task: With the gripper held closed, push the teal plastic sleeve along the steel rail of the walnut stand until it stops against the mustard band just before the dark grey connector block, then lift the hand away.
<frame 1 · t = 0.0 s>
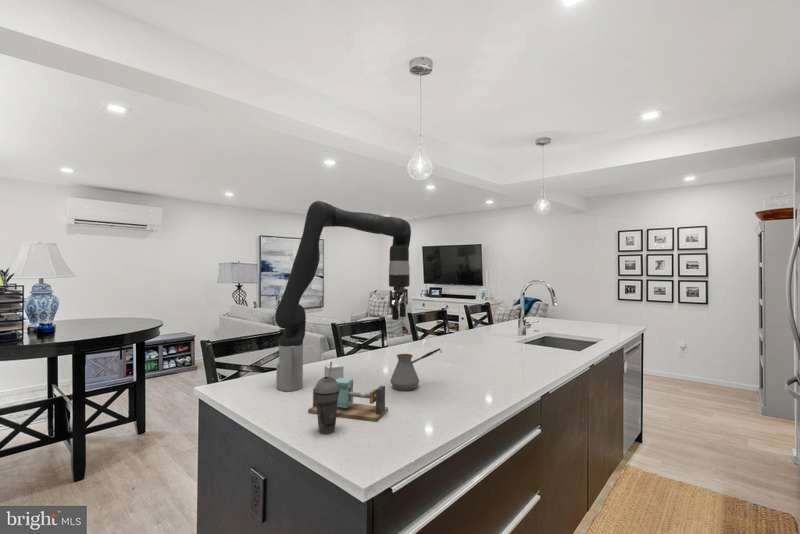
hand: (399, 318, 141), 29 cm above the worktop, tool pointing down, fingers open, 8 cm apart
rail stand: (348, 412, 128), on the worktop
beverage cup: (326, 431, 113), on the worktop
skincare box: (333, 398, 142), on the worktop
coffee pot: (416, 387, 156), on the worktop
sleeve: (342, 392, 129), point 6 cm above the worktop, slide at 0.0 cm
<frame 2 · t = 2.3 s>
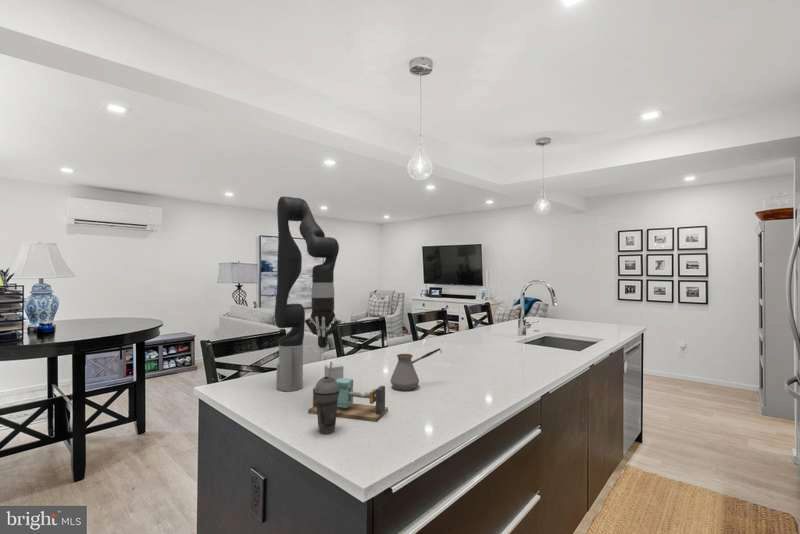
hand: (322, 347, 131), 21 cm above the worktop, tool pointing down, fingers closed
nothing on the worktop moved.
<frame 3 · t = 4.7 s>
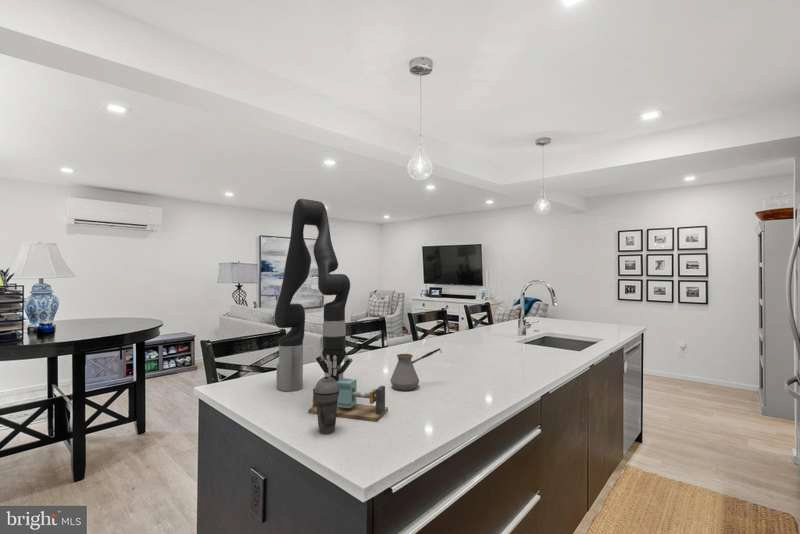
hand: (334, 386, 130), 8 cm above the worktop, tool pointing down, fingers closed
sleeve: (346, 392, 128), point 6 cm above the worktop, slide at 1.2 cm, touching gripper
everything else where it was.
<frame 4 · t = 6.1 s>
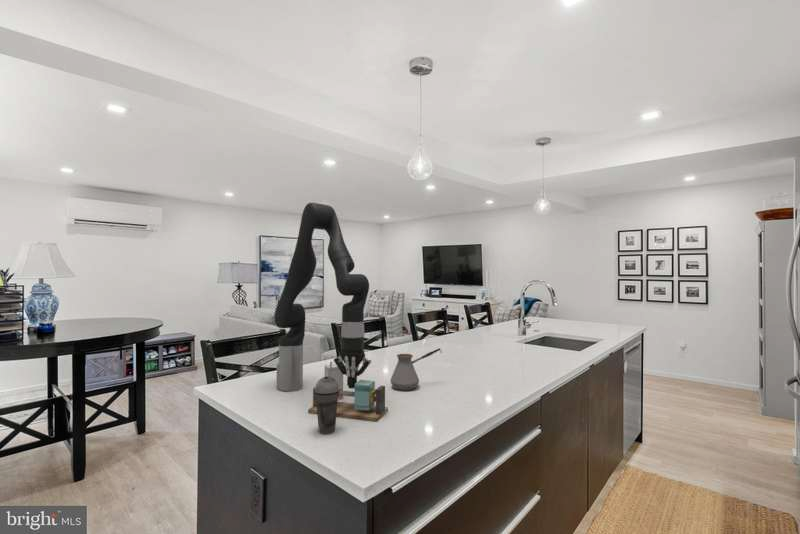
hand: (352, 387, 128), 8 cm above the worktop, tool pointing down, fingers closed
sleeve: (364, 394, 126), point 6 cm above the worktop, slide at 7.8 cm, touching gripper, rail stand
everything else where it was.
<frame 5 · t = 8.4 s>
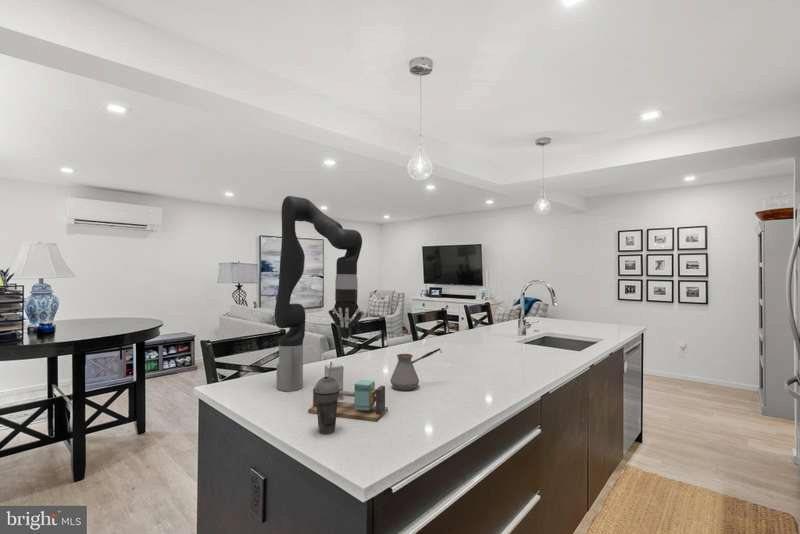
hand: (345, 338, 133), 23 cm above the worktop, tool pointing down, fingers closed
sleeve: (364, 394, 126), point 6 cm above the worktop, slide at 7.8 cm, touching rail stand
everything else where it was.
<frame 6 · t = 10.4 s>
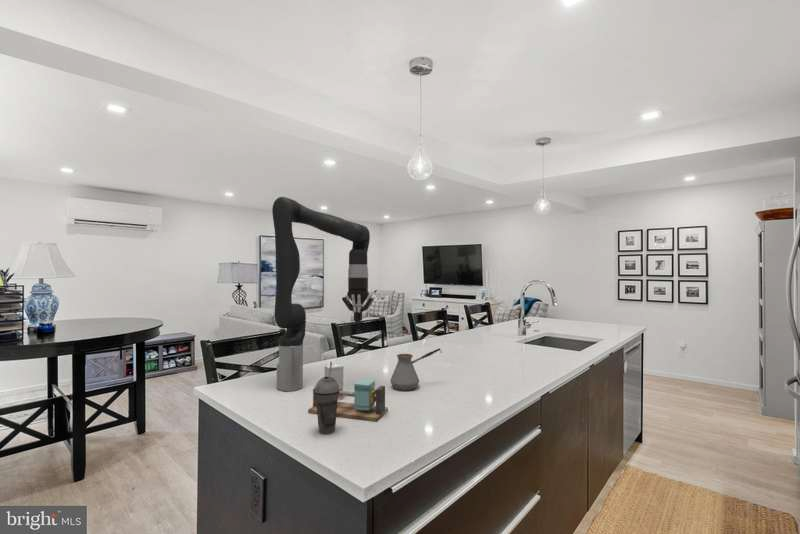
hand: (358, 322, 148), 27 cm above the worktop, tool pointing down, fingers closed
nothing on the worktop moved.
at the end: sleeve slide at 7.8 cm; the gripper is holding nothing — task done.
